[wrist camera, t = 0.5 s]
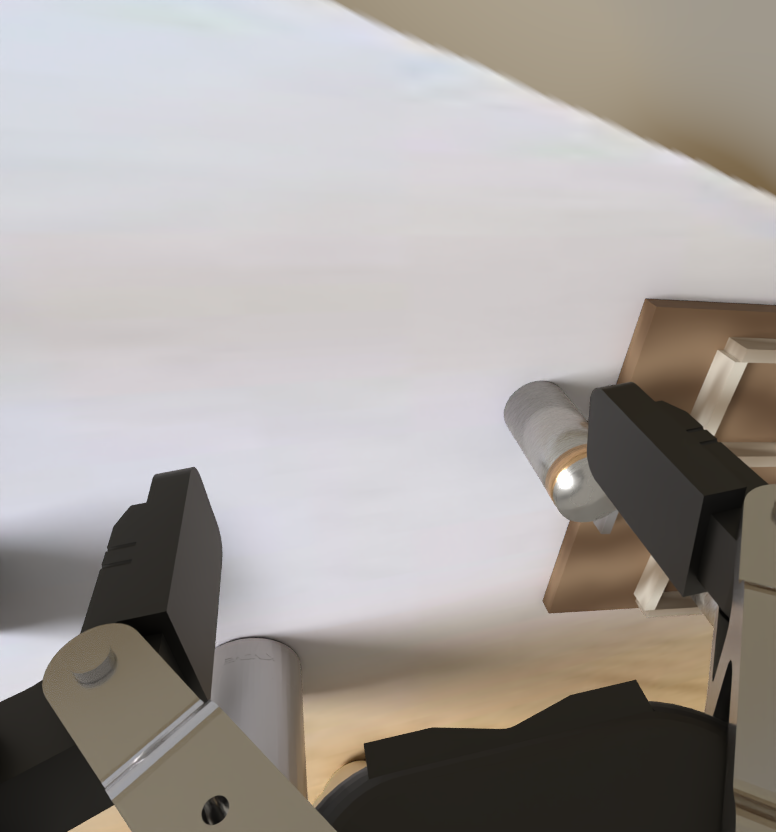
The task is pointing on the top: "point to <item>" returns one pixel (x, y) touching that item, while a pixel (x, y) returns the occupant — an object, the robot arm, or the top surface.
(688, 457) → the robot arm
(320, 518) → the top surface
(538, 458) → the cylinder
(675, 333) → the pallet
